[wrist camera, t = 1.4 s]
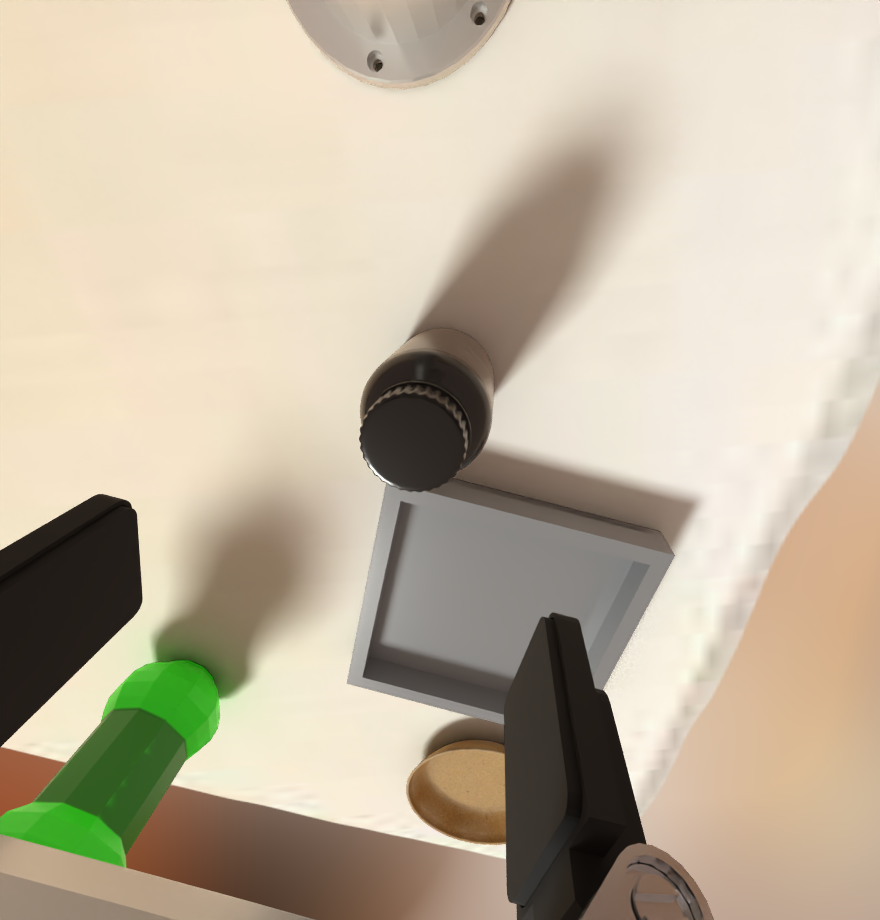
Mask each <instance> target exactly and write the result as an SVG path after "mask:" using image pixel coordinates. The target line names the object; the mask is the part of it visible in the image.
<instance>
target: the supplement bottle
mask: <svg viewBox="0 0 880 920" xmlns="http://www.w3.org/2000/svg"><path fill="white" fill-rule="evenodd" d="M493 393H494V375H493V369H492V365H491V362H490V360H489V358H488V355H487V354H486V352H485V351H484V349H483V348H482V347H481V346H480V344H479V343H478V342H476V341H475V340H474V339H473V338H471V337H470V336H468V335H467V334H465V333H463V332H460V331H457V330H453V329H448V328H436V329H430V330H427V331H424V332H421V333H419V334H417V335H416V336H414V337H412V338H411V339H410V340H408V341H407V342H406V343H405V344H404V345H403V346H401V347H400V348H399V349H398V350H397V351H396V352H395V353H394V354H392V355H391V356H390V357H389V358H388V359H387V360H386V361H385V362H383V363H382V364H381V365H380V366H379V367H378V368H377V369H376V371H375V372H374V373H373V374H372V376H371V377H370V379H369V380H368V382H367V384H366V386H365V388H364V391H363V394H362V398H361V405H360V418H361V424H362V426H361V427H360V432H361V435H360V437H359V440H360V442H361V447H360V449H361V451H362V452H363V458H364V459H365V460H366V461H367V465H368V467H369V468H370V469H372V471H373V473H374V475H376V476H378V477H379V478H380V479H381V481H383V482H386V483H388V484H389V485H390V486H391V487H396V488H397V489H399V490H406V491H408V492H413V491H416V492H423V491H431V490H432V489H433V488H439V487H440V486H441V485H442V484H446V483H448V481H449V479H451V478H453V477H454V476H455V475H456V472H457V471H459V470H461V469H463V468H464V467H466V466H467V465H468V464H470V463H471V462H472V461H473V460H474V459H475V458H476V457H477V456H478V454H479V453H480V452H481V450H482V449H483V447H484V445H485V443H486V441H487V439H488V436H489V433H490V429H491V423H492V411H493Z"/></svg>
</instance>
